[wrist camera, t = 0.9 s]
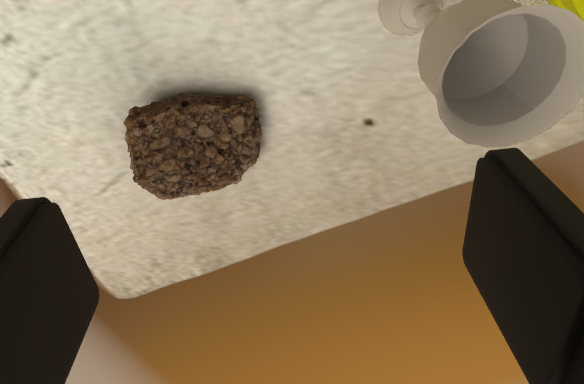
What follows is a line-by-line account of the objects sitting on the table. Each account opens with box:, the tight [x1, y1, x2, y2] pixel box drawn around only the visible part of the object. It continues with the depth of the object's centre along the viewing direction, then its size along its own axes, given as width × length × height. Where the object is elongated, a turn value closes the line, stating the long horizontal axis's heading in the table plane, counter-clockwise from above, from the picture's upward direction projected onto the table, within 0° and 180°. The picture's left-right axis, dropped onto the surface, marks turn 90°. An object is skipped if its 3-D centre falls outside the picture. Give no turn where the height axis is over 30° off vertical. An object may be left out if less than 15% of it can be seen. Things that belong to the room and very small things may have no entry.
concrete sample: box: [124, 93, 262, 200], centre depth 39 cm, size 12×10×5 cm
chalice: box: [379, 0, 584, 147], centre depth 28 cm, size 7×7×18 cm
